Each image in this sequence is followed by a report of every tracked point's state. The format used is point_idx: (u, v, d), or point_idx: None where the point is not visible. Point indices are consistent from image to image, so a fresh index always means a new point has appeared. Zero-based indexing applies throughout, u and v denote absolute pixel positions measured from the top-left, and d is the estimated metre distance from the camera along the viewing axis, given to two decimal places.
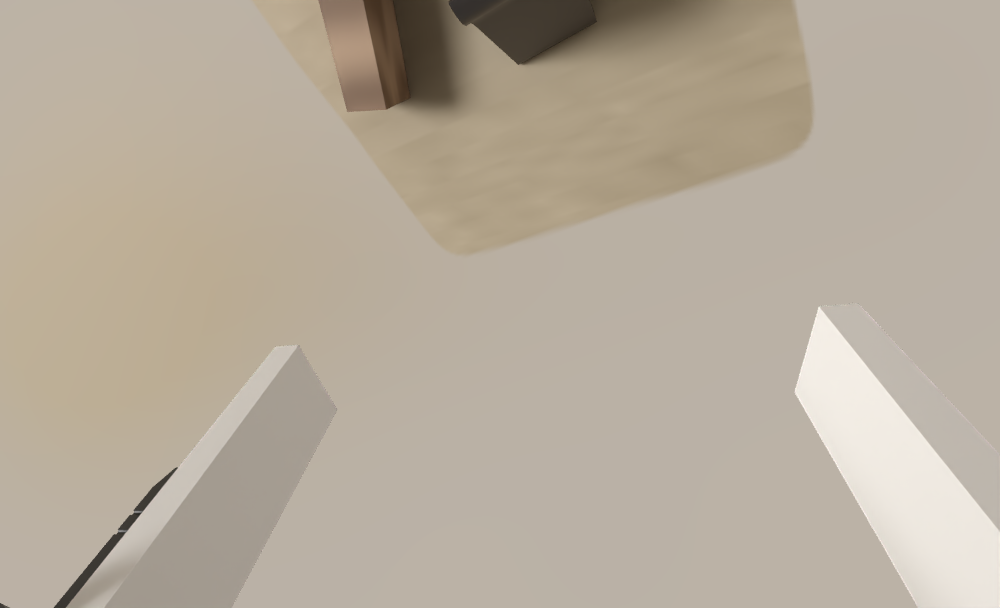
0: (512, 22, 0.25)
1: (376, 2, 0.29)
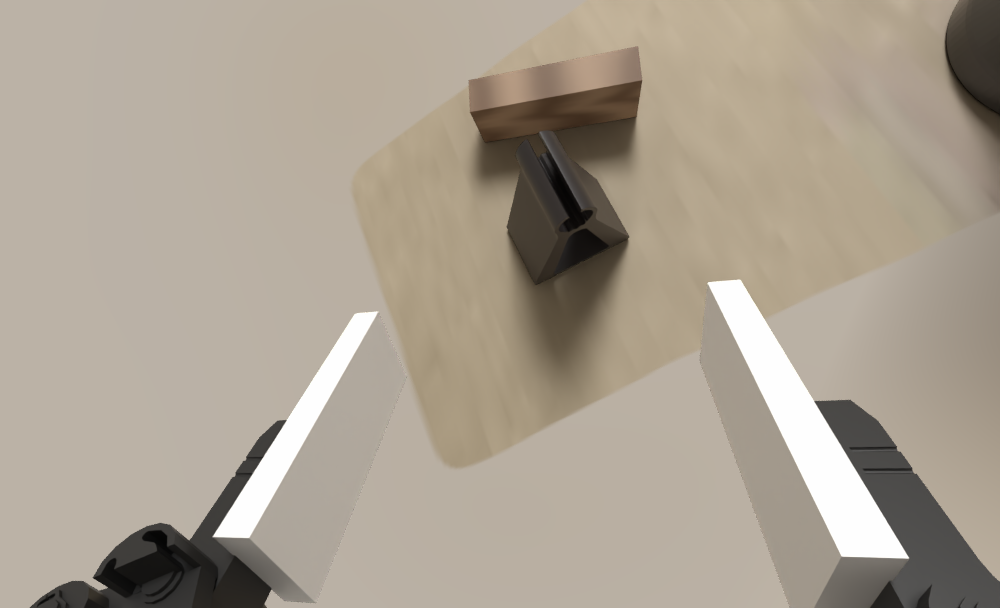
0: (525, 205, 0.33)
1: (546, 113, 0.37)
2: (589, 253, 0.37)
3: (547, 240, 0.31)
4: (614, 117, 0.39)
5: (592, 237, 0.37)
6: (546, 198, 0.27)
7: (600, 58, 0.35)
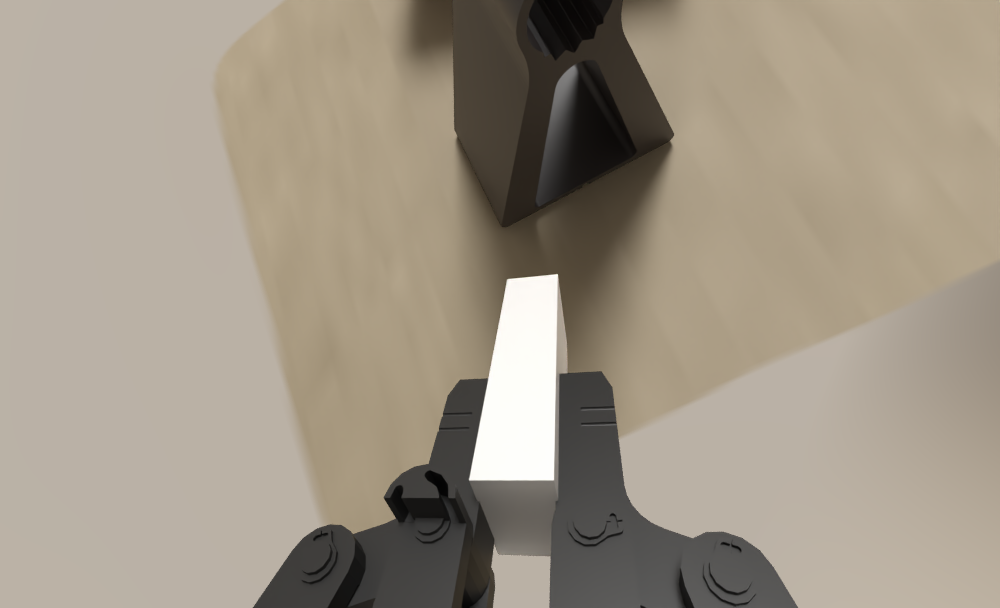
0: (469, 43, 0.16)
1: None
2: (599, 167, 0.20)
3: (511, 104, 0.14)
4: None
5: (605, 140, 0.21)
6: None
7: None
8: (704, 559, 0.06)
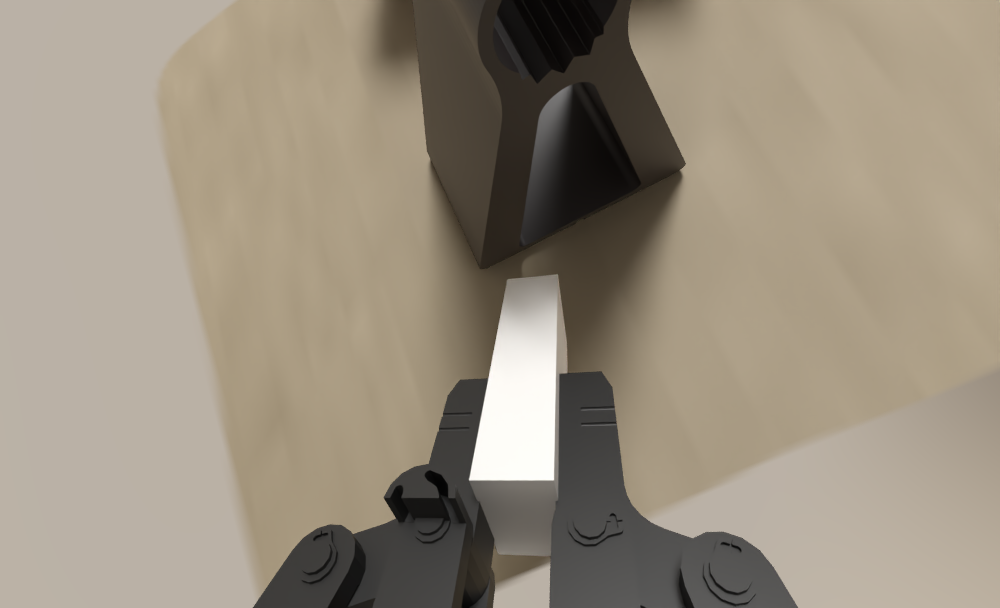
0: (433, 54, 0.12)
1: None
2: (596, 200, 0.17)
3: (483, 135, 0.11)
4: None
5: (603, 168, 0.17)
6: None
7: None
8: (704, 559, 0.06)
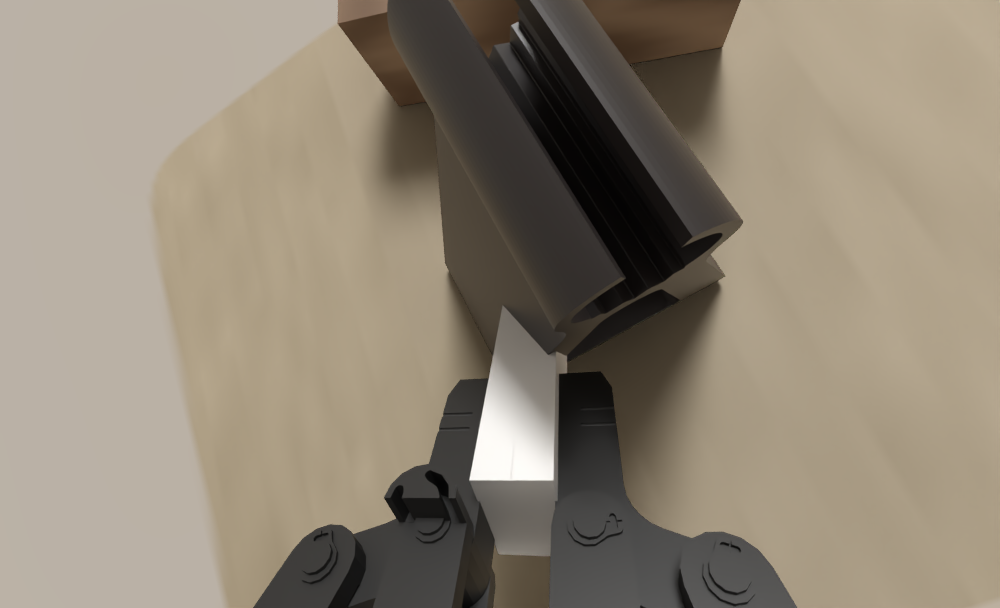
0: (463, 216, 0.11)
1: None
2: (632, 316, 0.16)
3: (531, 324, 0.10)
4: (673, 47, 0.17)
5: None
6: (510, 190, 0.06)
7: None
8: (704, 559, 0.06)
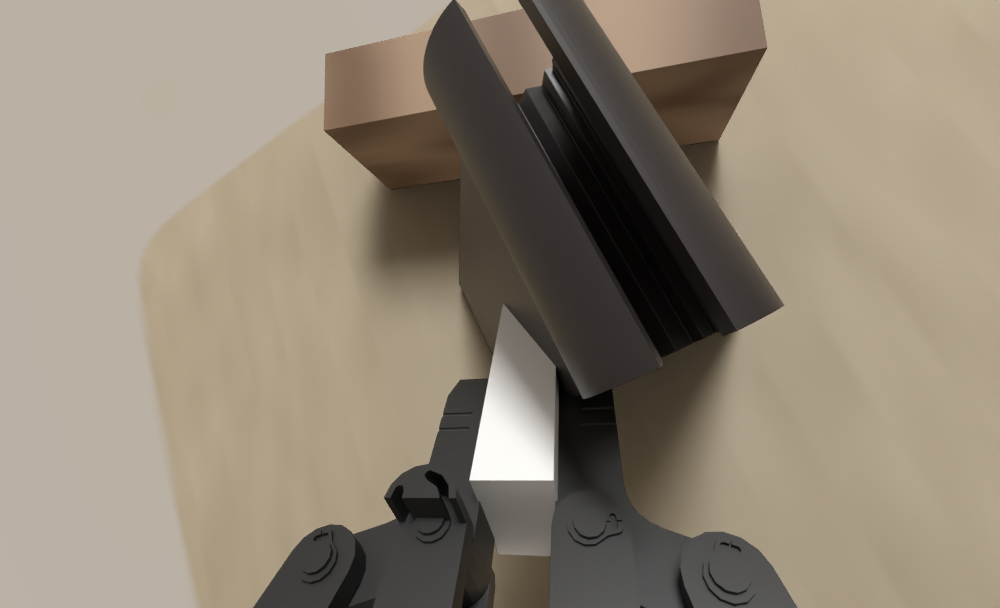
0: (484, 250, 0.11)
1: None
2: None
3: None
4: None
5: None
6: (546, 261, 0.06)
7: None
8: (704, 559, 0.06)
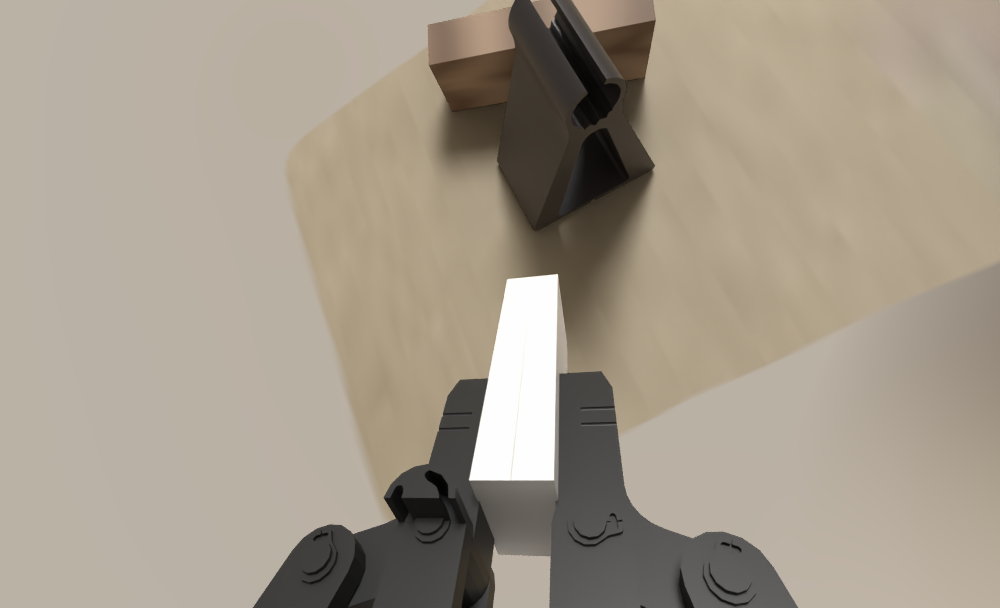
0: (521, 110, 0.24)
1: None
2: (603, 188, 0.29)
3: (553, 151, 0.23)
4: None
5: (607, 169, 0.29)
6: (554, 70, 0.19)
7: None
8: (704, 559, 0.06)
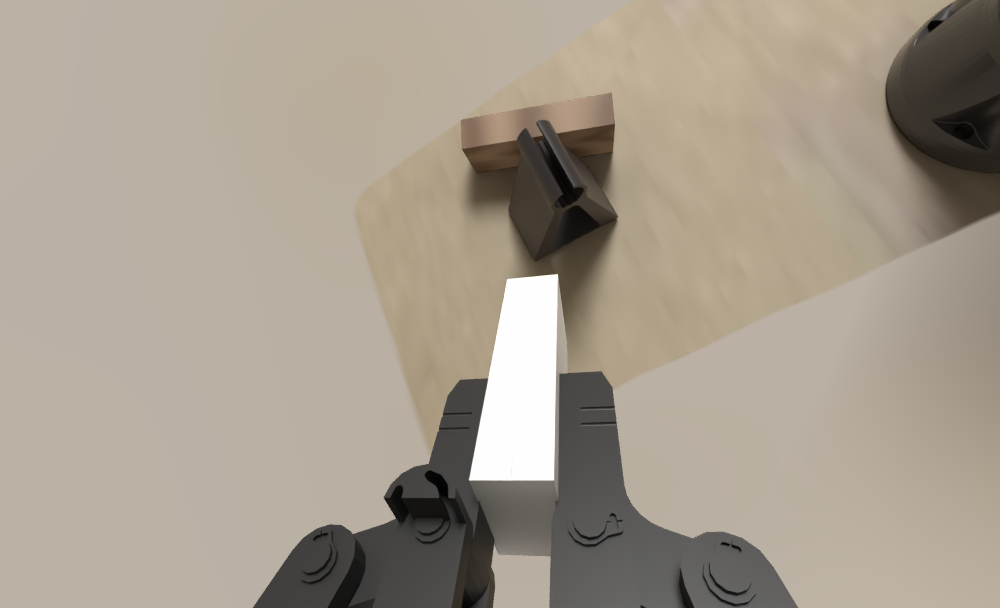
0: (525, 187, 0.37)
1: None
2: (582, 231, 0.42)
3: (545, 217, 0.36)
4: (592, 152, 0.43)
5: (585, 218, 0.42)
6: (543, 178, 0.31)
7: (578, 102, 0.39)
8: (704, 559, 0.06)
